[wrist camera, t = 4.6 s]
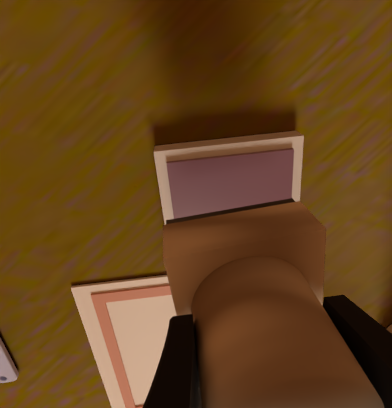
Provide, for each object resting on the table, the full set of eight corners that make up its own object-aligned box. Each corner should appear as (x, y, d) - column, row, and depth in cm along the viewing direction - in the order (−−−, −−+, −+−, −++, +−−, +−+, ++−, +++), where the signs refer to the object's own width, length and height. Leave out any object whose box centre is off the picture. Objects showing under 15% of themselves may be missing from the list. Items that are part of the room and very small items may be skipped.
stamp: (184, 315, 14) (200, 508, 8) (162, 218, 12) (163, 386, 6) (295, 295, 14) (390, 471, 8) (294, 195, 12) (426, 336, 6)
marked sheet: (116, 416, 28) (115, 421, 27) (71, 286, 21) (70, 289, 21) (271, 396, 28) (272, 400, 28) (274, 261, 21) (276, 265, 21)
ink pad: (172, 262, 21) (172, 276, 20) (154, 145, 17) (153, 153, 16) (289, 248, 21) (297, 261, 20) (295, 130, 18) (306, 136, 16)
